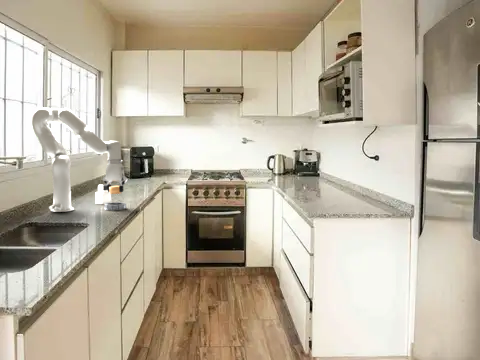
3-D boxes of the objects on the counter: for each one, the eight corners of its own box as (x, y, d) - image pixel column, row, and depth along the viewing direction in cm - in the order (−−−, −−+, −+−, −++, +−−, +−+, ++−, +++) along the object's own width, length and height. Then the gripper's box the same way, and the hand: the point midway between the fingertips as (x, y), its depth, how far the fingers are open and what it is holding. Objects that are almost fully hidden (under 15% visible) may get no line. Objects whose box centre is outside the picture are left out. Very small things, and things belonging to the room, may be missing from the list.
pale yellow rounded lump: (118, 194, 277) (117, 187, 277) (107, 193, 279) (106, 187, 278) (123, 192, 284) (123, 186, 284) (113, 192, 286) (112, 185, 285)
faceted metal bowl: (119, 210, 275) (119, 205, 274) (100, 209, 277) (100, 204, 277) (129, 207, 287) (129, 202, 286) (110, 206, 290) (110, 201, 289)
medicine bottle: (104, 202, 309) (104, 184, 308) (111, 203, 304) (111, 184, 303) (95, 203, 303) (94, 184, 302) (101, 204, 299) (101, 185, 298)
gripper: (130, 161, 281) (131, 191, 283) (104, 161, 285) (105, 190, 287) (124, 162, 274) (125, 193, 276) (97, 162, 278) (98, 192, 280)
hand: (115, 191), depth 281 cm, fingers closed on pale yellow rounded lump, 7 cm apart
